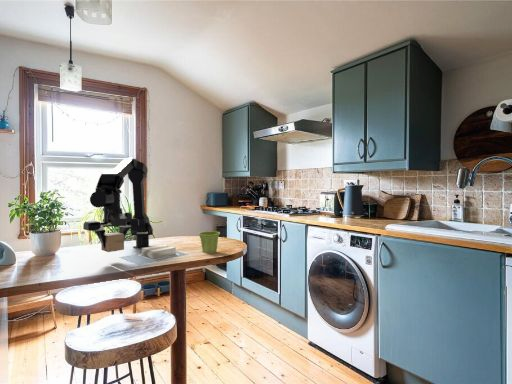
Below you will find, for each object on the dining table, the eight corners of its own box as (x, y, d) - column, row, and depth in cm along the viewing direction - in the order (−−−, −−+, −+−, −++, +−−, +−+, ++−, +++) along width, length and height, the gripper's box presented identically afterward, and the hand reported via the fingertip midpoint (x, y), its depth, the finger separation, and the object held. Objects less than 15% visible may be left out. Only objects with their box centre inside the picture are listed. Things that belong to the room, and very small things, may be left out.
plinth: (141, 255, 130) (141, 248, 130) (163, 251, 137) (163, 244, 137) (153, 259, 123) (153, 251, 123) (175, 254, 131) (175, 247, 130)
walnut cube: (101, 249, 118) (101, 234, 118) (117, 247, 122) (117, 232, 122) (107, 252, 114) (107, 235, 114) (124, 249, 118) (123, 233, 118)
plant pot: (206, 256, 131) (205, 235, 131) (194, 252, 138) (194, 232, 138) (224, 252, 137) (224, 233, 137) (212, 249, 144) (212, 230, 144)
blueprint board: (119, 258, 127) (118, 257, 126) (166, 250, 143) (166, 248, 143) (138, 266, 115) (138, 264, 115) (188, 255, 131) (188, 254, 131)
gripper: (93, 208, 105) (94, 253, 106) (145, 205, 119) (146, 245, 120) (82, 206, 113) (83, 249, 113) (132, 203, 127) (132, 241, 127)
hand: (112, 246), depth 118 cm, fingers closed on walnut cube, 6 cm apart
